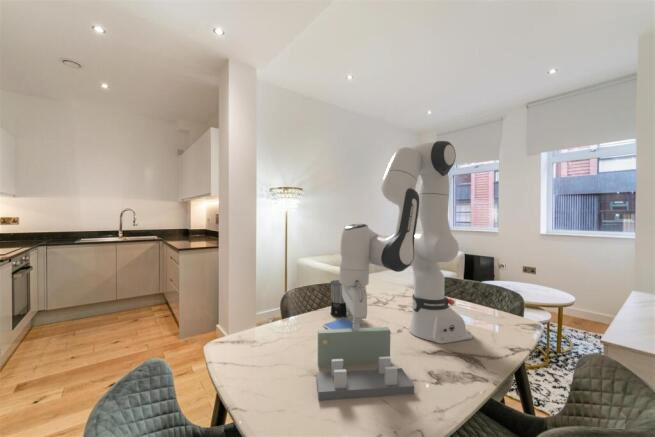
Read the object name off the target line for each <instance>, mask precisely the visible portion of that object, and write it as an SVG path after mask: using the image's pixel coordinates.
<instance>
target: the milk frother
mask: <svg viewBox="0 0 655 437" xmlns="http://www.w3.org/2000/svg"><path fill="white" fill-rule="evenodd" d="M330 303H331V305H330V315H331V316H332V317H334V318H348V317H347V310H346V303H345V301H344V299H343V297H342V287H341V283H340V279H335V280H331V281H330Z"/></svg>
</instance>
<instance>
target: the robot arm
mask: <svg viewBox="0 0 655 437" xmlns="http://www.w3.org/2000/svg"><path fill="white" fill-rule="evenodd" d="M455 161H456V150H455V147H454V145H453V144H452V143H451V142H450V141H447V140H437V141H434V142H433V141H432V142H425V143H421V144H417V145H413V146H411V147H409V146H406V147H401V148H399V149H397V150H396V151H395V153H393V156H392V157H391V159H390V161H389V162H388V165H387V168H386V170H385V172H384V176H383V178H382V181H381V186H380V188H381V192H382V195H383V196H384V197H385V199H387V201H390V203H392V204H394V205H396V206H398V210H399V211H398V217H397V223H396V227H395V232H394V233H393V235H391V236H390V235H384V234H383V235H382V234H379V233H376V232H375V231H374V230H372V229H370V228H369V225H367V224H365V223H356V224H355V223H353V224H349V225H346V226H345V227H343V230H342V233H341V237H340V238H341V239H340V257H341V260H340V264H339V280H340V283H341V287H342V297H343V299H344V301H345V303H346V310H347V317H346V318H347V319H353V321H352V322H353V329H354V330H359V329H360V325H361V322H362V320H364V319H367V316H368V294H367V291H366V289H365V286H368V285H369V283H370V282H369V281H370V278H369V277H370V264H371V265H375V266H378V267H382V268H385V269H388V270H390V271H394V272H396V273H397V272H398V273H400V272H403V271H405V270H406V269H407V268H409V267H410V266H411V267H412V273H413V293H412V301H411V302H412V304H411V305H412V317H411V320H410V321H411V322H410V325H409V328H408V330H409V332H410V334H412V335H413V336H415V337H417V338H419V339H422V340H427V341H431V342H434V343H436V344H449V343H454V342H460V341H467V340H472V339H473V338H474V337H473V333H472V332H471V331H470V330H469V329H468V328H466V323H465V320H464V319H463V317H462V316H461V315H460V314H459V313H457V312H456V311H455V310H453V308H451V307H450V306H454V305H455V302H456V301H454V299H451V298H448V297H447V296H445V280H446V279H445V275H444V274H443V272H442V270H441V269H440V266H439V263H449V262H451V261H453V260H455V259H456V258H457V256H458V254H459V249H460V248H459V243H458V241H457V239H456V237H455V236H454V235H453V233H452V231H451V227H450V222H449V202H450V176H449V173H450V171H451V169H452V168H453V166H454V164H455ZM419 176H420V183H419V188H418V191H417V190H416V188H417V187H416V186H417V184H418V180H419ZM418 218H419V221H420V223H421V229H422V230H417V224H418Z"/></svg>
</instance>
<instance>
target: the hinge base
mask: <svg viewBox="0 0 655 437" xmlns="http://www.w3.org/2000/svg"><path fill="white" fill-rule="evenodd" d="M391 360H392V359H391V356H390V357H389V356H388V357H379V363H378V369H365V370H364V369H363V370H360V369H359V370H347V368H346V369H345V368H344V365H343V359H332V366H331V371H329V372H327V371H326V372H316V376H315V377H316V390H317V398H318V401H328V400H342V399H343V400H344V399H356V398H357V399H359V398H373V397H374V398H375V397H391V396H400V395H401V396H403V395H414V394H415V384H413V382H412V381H411V379H410V378H409V376H408V375H407V373H406V371H405V370H404V369H403V367H398V368H397V366H391V363H392V362H391Z"/></svg>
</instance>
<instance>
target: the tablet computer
mask: <svg viewBox="0 0 655 437" xmlns="http://www.w3.org/2000/svg"><path fill="white" fill-rule="evenodd" d="M322 327H323V328H325V329H351V328H353V321H352V320H350V319H349V318H347V317H342V318H341V319H337V320H334V321H329V322H327V323H324V324H322ZM360 328H366V326H365V327H364V326H362V325H361V324H360Z"/></svg>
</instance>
